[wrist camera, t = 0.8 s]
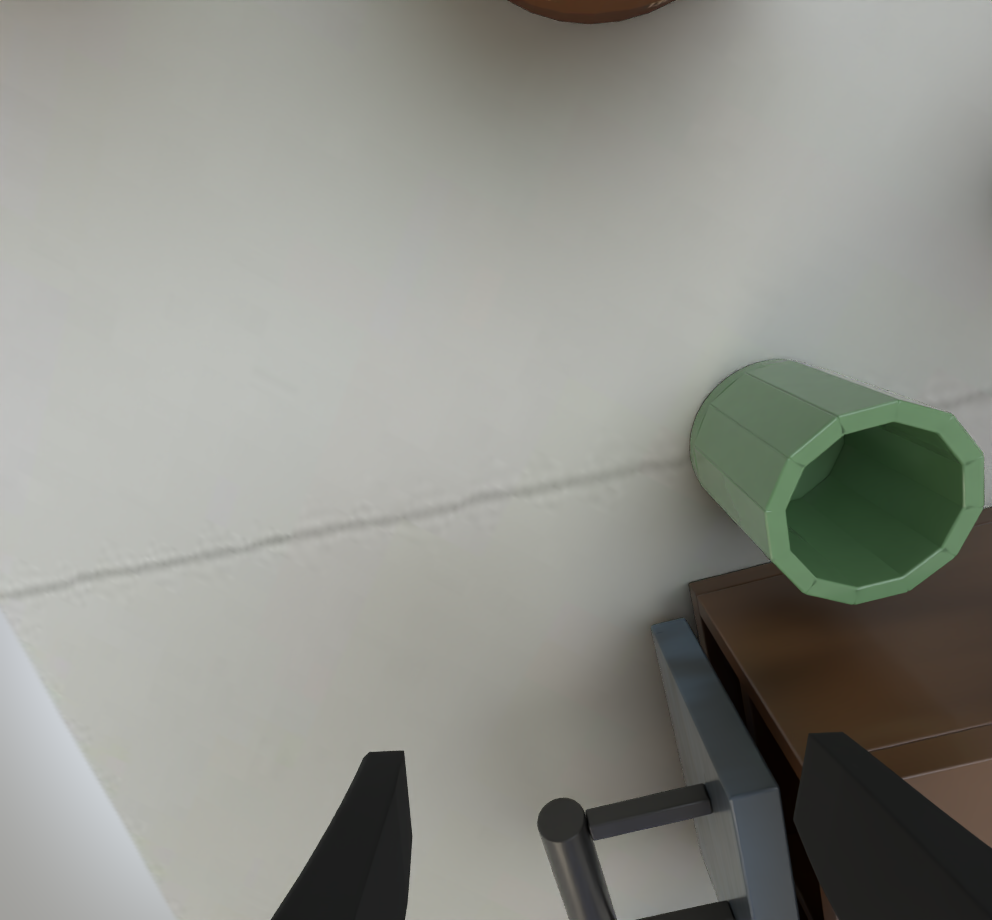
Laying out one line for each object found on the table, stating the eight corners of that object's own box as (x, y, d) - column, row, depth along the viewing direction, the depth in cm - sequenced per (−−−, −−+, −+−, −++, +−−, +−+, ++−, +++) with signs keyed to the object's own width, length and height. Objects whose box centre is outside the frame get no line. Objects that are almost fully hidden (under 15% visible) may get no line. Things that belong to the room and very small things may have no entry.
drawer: (578, 879, 24) (615, 1107, 18) (507, 659, 21) (521, 846, 14) (1051, 773, 23) (1272, 976, 17) (1063, 521, 20) (1350, 657, 13)
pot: (853, 488, 20) (985, 574, 15) (702, 527, 20) (779, 624, 15) (840, 339, 18) (985, 376, 13) (676, 383, 19) (754, 437, 13)
